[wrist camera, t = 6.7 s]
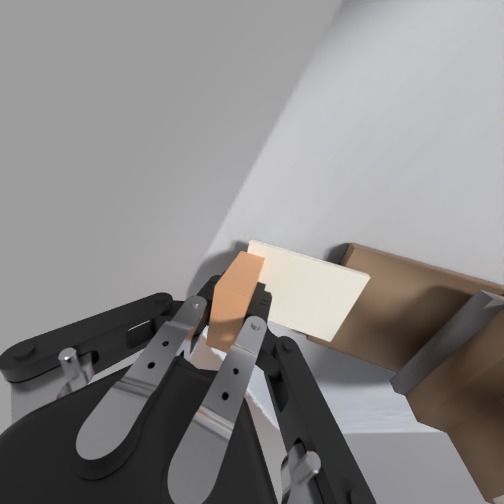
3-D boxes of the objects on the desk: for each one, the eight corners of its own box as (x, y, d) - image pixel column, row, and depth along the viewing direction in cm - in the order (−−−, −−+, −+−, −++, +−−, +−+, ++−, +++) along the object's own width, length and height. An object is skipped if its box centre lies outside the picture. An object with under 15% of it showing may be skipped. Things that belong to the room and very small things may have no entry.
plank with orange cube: (245, 237, 14) (217, 270, 10) (368, 274, 13) (408, 333, 8) (230, 303, 17) (204, 354, 13) (329, 337, 16) (342, 408, 11)
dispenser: (350, 242, 14) (466, 402, 4) (557, 300, 12) (1506, 775, 3) (306, 329, 19) (313, 507, 9) (454, 381, 17) (668, 672, 7)
